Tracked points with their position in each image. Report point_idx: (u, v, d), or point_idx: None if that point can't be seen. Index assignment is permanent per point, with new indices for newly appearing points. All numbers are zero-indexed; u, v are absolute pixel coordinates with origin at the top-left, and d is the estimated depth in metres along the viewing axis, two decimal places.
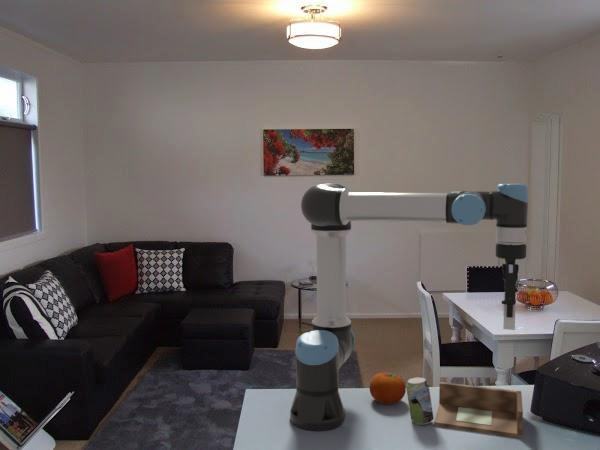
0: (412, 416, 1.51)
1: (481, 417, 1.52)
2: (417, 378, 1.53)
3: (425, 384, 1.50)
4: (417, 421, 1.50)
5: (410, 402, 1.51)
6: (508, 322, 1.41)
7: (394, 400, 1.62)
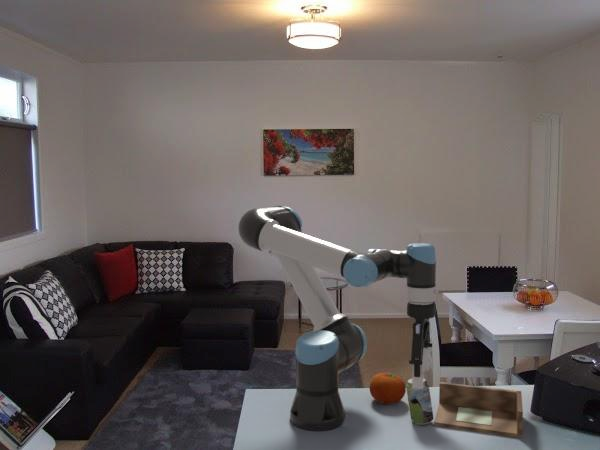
0: (412, 416, 1.51)
1: (481, 417, 1.52)
2: None
3: (425, 384, 1.50)
4: (417, 421, 1.50)
5: (410, 402, 1.51)
6: (416, 381, 1.44)
7: (394, 400, 1.62)
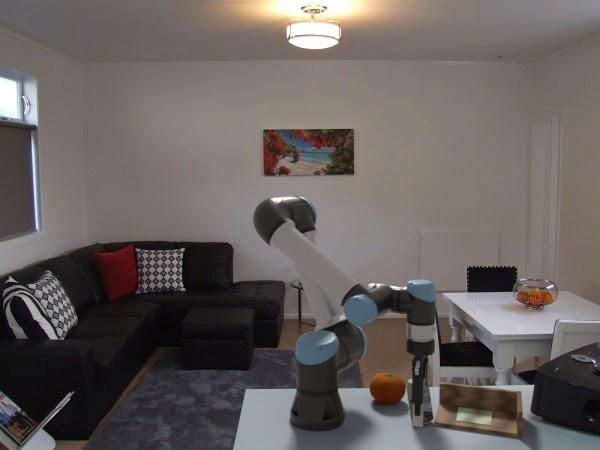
0: (412, 416, 1.51)
1: (481, 417, 1.52)
2: None
3: (425, 384, 1.50)
4: None
5: None
6: (416, 419, 1.49)
7: (394, 400, 1.62)
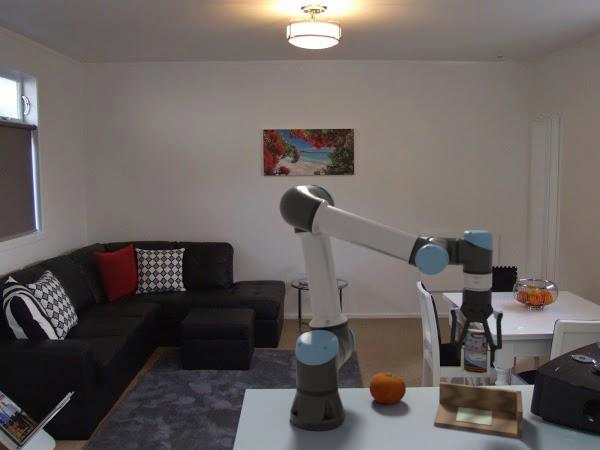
0: None
1: (481, 417, 1.52)
2: (482, 331, 1.51)
3: (471, 334, 1.50)
4: None
5: None
6: None
7: (394, 400, 1.62)
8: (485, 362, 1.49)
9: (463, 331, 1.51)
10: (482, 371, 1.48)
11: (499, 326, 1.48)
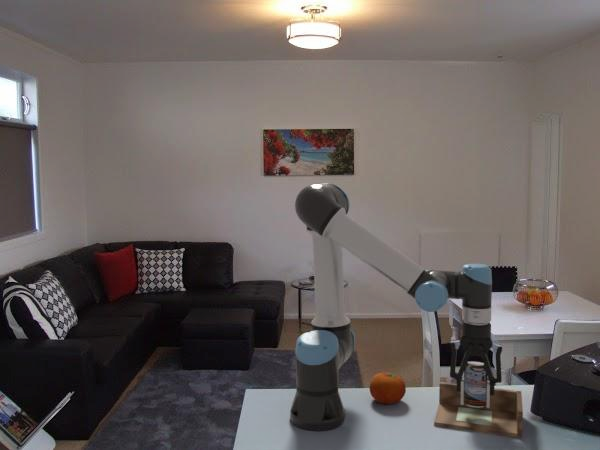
0: None
1: (481, 417, 1.52)
2: (482, 364, 1.52)
3: (471, 367, 1.51)
4: None
5: None
6: None
7: (394, 400, 1.62)
8: (485, 395, 1.50)
9: (463, 364, 1.52)
10: (482, 404, 1.49)
11: (498, 360, 1.49)
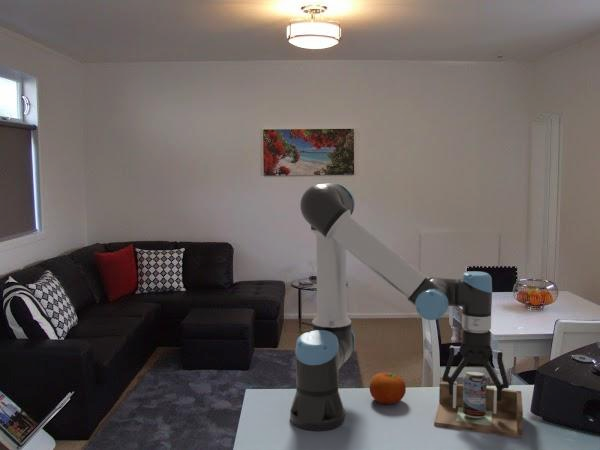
0: None
1: None
2: (481, 374, 1.53)
3: (470, 377, 1.51)
4: None
5: None
6: None
7: (394, 400, 1.62)
8: (484, 405, 1.50)
9: (458, 369, 1.52)
10: (481, 415, 1.50)
11: (501, 365, 1.48)
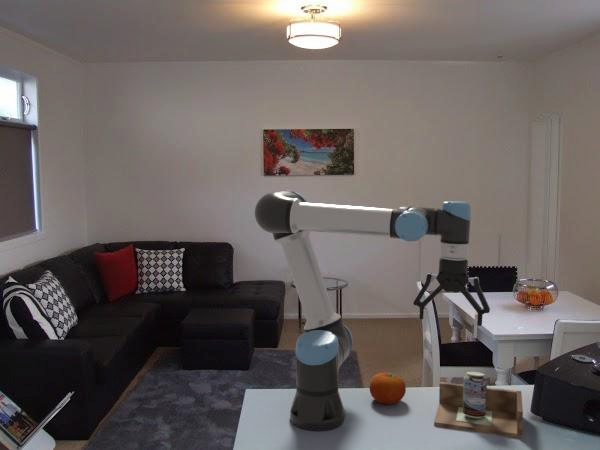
0: None
1: None
2: (481, 374, 1.52)
3: (470, 377, 1.51)
4: None
5: None
6: None
7: (394, 400, 1.62)
8: (484, 406, 1.50)
9: (431, 295, 1.54)
10: (481, 415, 1.50)
11: (479, 291, 1.50)
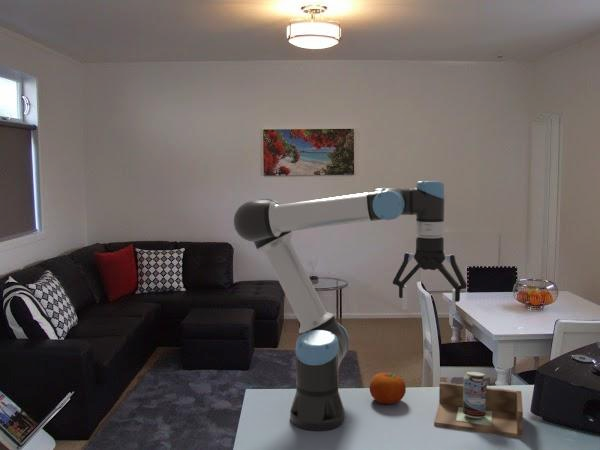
0: None
1: None
2: (481, 374, 1.52)
3: (470, 377, 1.51)
4: None
5: None
6: None
7: (394, 400, 1.62)
8: (484, 406, 1.50)
9: (410, 273, 1.57)
10: (481, 415, 1.50)
11: (455, 267, 1.53)
